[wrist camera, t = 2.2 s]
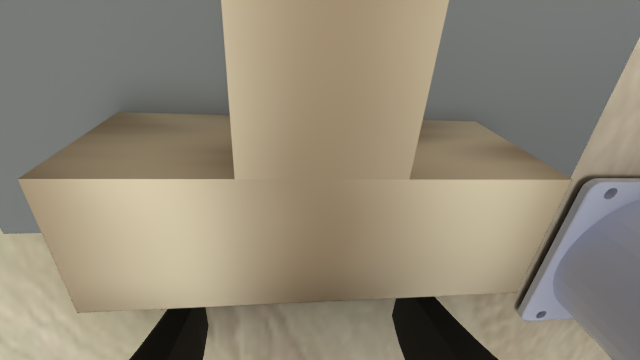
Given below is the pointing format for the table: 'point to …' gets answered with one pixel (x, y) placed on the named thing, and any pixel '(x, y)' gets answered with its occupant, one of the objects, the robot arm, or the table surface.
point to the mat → (211, 77)
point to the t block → (297, 177)
